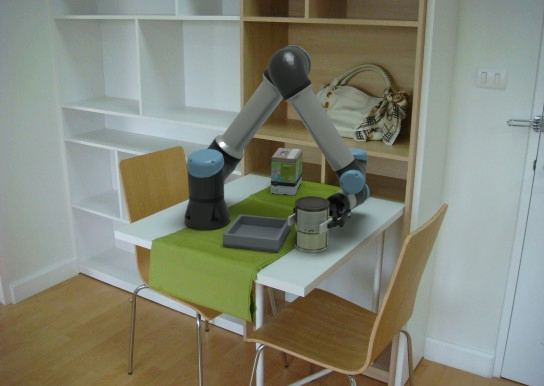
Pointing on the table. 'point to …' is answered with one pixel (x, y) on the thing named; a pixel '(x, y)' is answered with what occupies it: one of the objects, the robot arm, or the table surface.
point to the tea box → (286, 171)
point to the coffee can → (311, 223)
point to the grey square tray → (256, 233)
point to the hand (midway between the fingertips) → (304, 225)
